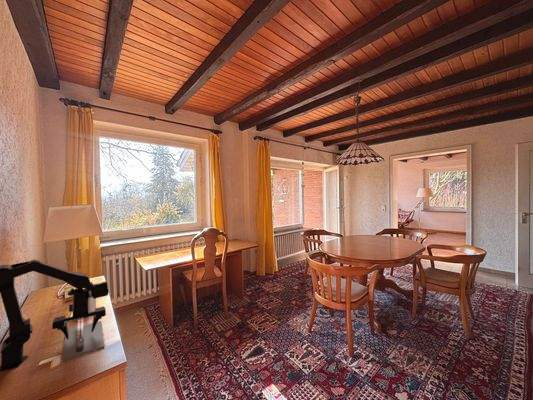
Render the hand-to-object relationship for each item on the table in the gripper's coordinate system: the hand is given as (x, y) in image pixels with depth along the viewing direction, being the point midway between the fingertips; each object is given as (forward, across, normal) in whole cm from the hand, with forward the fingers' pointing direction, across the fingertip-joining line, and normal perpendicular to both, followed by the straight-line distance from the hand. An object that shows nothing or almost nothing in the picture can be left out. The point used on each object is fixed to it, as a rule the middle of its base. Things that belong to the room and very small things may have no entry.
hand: (80, 335), depth 104 cm
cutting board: (+2, -2, 0) cm, 3 cm away
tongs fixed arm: (+2, 0, 0) cm, 2 cm away
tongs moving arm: (+1, -1, -2) cm, 2 cm away
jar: (+3, -2, -32) cm, 32 cm away
